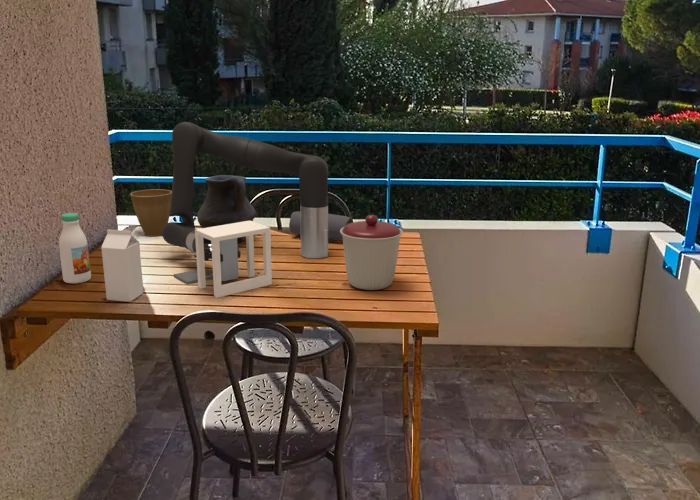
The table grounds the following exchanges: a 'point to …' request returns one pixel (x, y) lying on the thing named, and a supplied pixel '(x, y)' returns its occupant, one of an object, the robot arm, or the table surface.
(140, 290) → the milk carton
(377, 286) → the canister
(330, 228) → the bluetooth speaker
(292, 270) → the table surface
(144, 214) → the plant pot
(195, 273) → the mat
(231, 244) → the blank
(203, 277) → the rack
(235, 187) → the pitcher
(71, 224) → the milk bottle
